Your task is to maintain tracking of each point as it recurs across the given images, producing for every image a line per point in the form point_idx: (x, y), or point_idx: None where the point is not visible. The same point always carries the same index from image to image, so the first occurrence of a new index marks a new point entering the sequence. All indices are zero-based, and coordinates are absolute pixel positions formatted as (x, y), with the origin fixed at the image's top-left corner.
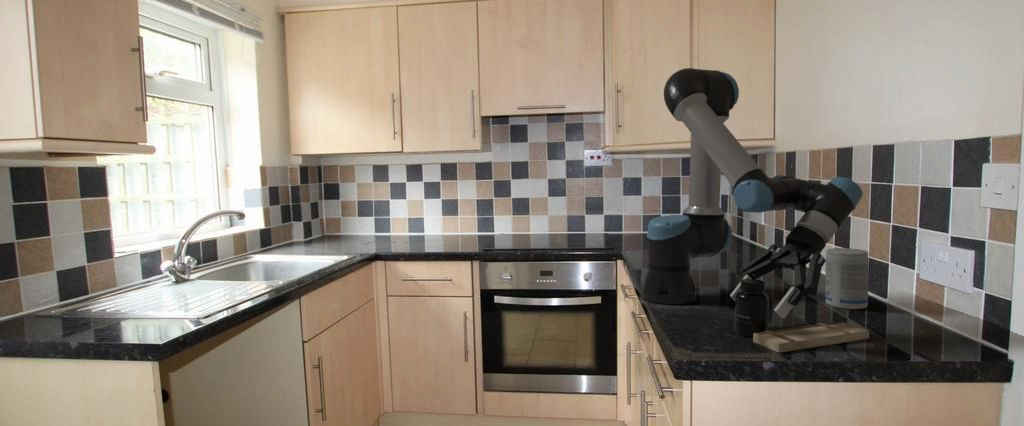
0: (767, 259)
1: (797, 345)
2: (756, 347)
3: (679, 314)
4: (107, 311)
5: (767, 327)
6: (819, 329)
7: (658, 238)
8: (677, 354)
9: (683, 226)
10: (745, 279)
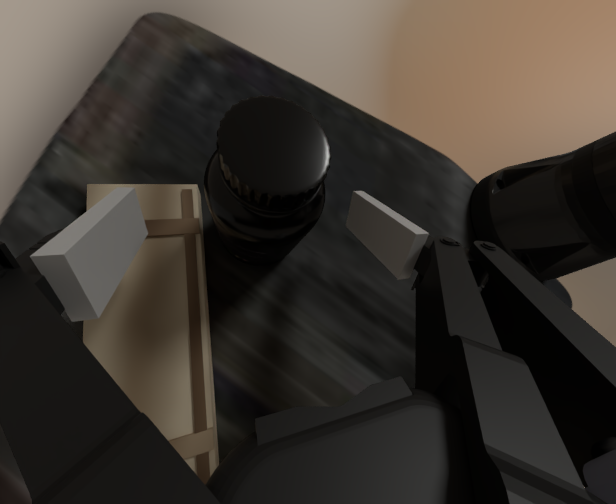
0: (547, 383)
1: None
2: (160, 175)
3: (409, 177)
4: None
5: (227, 249)
6: (162, 399)
7: None
8: (180, 19)
9: None
10: (318, 139)
